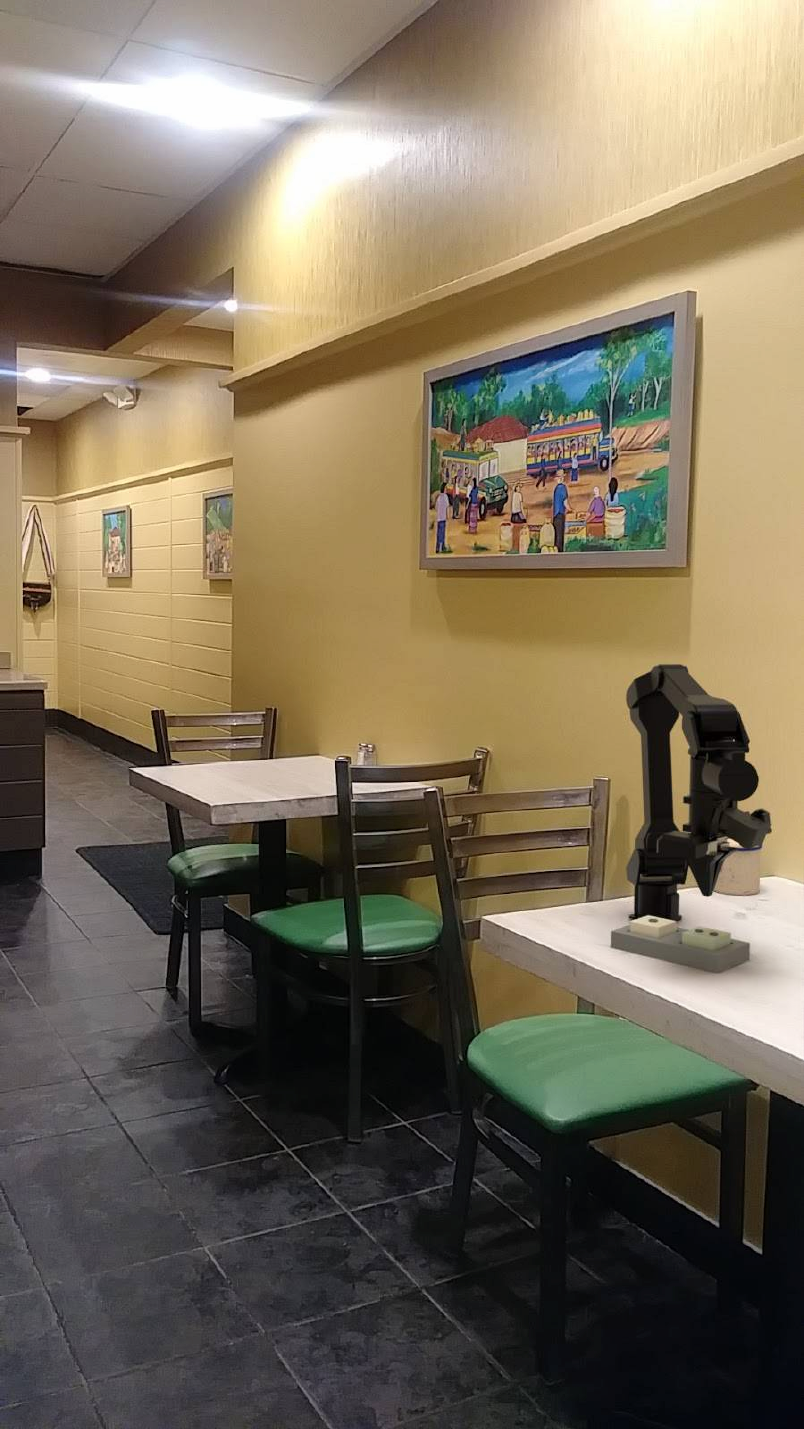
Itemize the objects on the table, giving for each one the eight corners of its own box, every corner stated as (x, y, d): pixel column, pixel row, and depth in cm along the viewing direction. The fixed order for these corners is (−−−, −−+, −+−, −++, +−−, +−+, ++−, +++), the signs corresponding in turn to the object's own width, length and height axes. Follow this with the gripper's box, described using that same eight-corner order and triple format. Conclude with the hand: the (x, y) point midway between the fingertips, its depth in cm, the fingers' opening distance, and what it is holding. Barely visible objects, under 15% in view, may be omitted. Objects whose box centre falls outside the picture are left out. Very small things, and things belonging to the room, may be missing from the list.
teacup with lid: (760, 886, 215) (762, 824, 214) (761, 897, 206) (763, 833, 205) (693, 882, 218) (694, 820, 217) (692, 893, 209) (693, 829, 208)
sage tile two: (681, 946, 169) (682, 931, 169) (699, 939, 173) (700, 925, 173) (712, 953, 166) (713, 938, 166) (730, 946, 169) (730, 931, 169)
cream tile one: (629, 934, 176) (629, 920, 175) (647, 927, 179) (648, 913, 179) (658, 940, 172) (658, 926, 172) (676, 934, 176) (676, 919, 175)
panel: (610, 947, 176) (611, 931, 175) (643, 935, 182) (644, 919, 182) (717, 973, 163) (718, 955, 163) (749, 959, 169) (749, 942, 169)
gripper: (727, 804, 155) (724, 918, 156) (792, 788, 168) (789, 894, 170) (655, 794, 163) (653, 903, 164) (723, 780, 176) (720, 881, 177)
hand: (707, 895), depth 169 cm, fingers closed
